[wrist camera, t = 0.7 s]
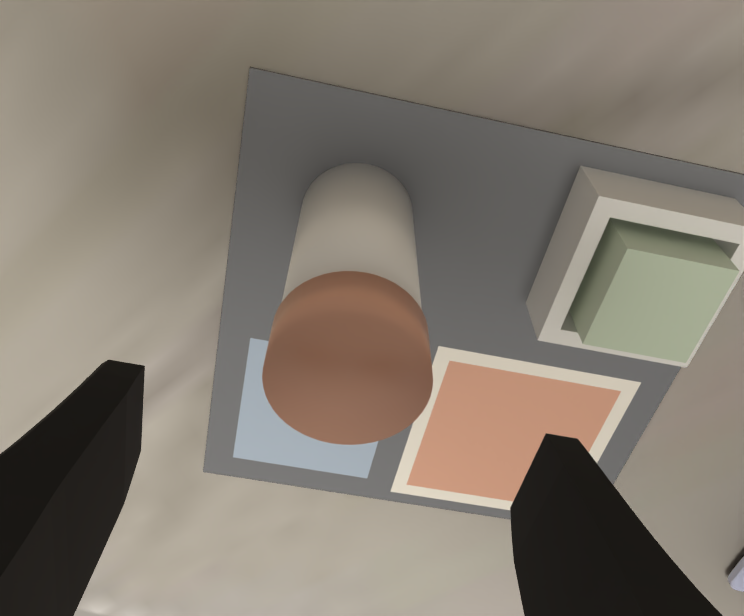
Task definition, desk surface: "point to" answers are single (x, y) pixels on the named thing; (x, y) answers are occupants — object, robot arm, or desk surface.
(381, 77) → the desk surface
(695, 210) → the button housing
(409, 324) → the cylinder
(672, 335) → the button
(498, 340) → the picture sheet
